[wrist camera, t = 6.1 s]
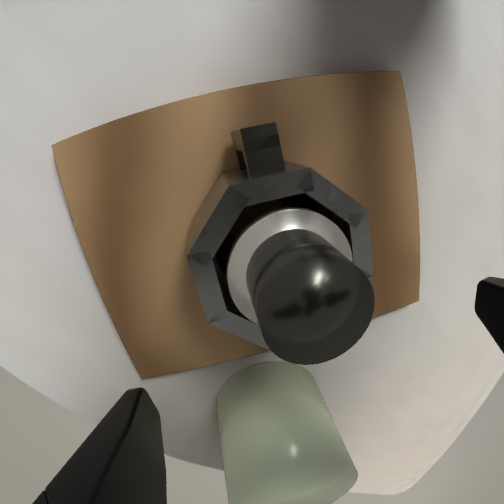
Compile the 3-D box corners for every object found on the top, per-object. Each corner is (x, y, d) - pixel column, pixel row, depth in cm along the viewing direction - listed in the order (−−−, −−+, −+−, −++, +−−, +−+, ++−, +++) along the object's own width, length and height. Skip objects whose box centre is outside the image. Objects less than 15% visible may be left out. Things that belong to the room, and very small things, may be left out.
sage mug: (311, 348, 20) (359, 444, 12) (321, 427, 23) (354, 506, 15) (203, 376, 19) (211, 483, 12) (236, 449, 22) (251, 534, 15)
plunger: (307, 180, 14) (390, 218, 8) (321, 269, 16) (391, 352, 9) (209, 203, 14) (217, 263, 7) (233, 293, 15) (257, 396, 9)
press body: (310, 116, 14) (352, 110, 10) (335, 274, 17) (374, 316, 13) (170, 147, 14) (157, 150, 9) (215, 306, 17) (221, 361, 12)
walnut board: (392, 72, 15) (399, 70, 14) (412, 295, 20) (418, 300, 19) (57, 144, 13) (51, 145, 13) (143, 370, 18) (141, 379, 18)
